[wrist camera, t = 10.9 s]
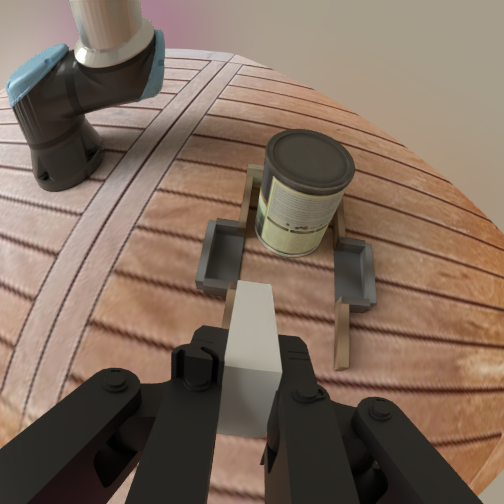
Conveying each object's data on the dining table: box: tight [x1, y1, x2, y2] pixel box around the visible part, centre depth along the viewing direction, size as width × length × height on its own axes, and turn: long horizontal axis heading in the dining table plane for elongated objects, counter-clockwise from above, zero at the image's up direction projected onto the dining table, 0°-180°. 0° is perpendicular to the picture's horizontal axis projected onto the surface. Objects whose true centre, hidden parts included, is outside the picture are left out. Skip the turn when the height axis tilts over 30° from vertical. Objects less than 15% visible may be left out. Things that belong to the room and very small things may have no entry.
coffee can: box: [254, 129, 355, 257], centre depth 38 cm, size 10×10×14 cm
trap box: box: [195, 164, 377, 371], centre depth 39 cm, size 28×23×4 cm
